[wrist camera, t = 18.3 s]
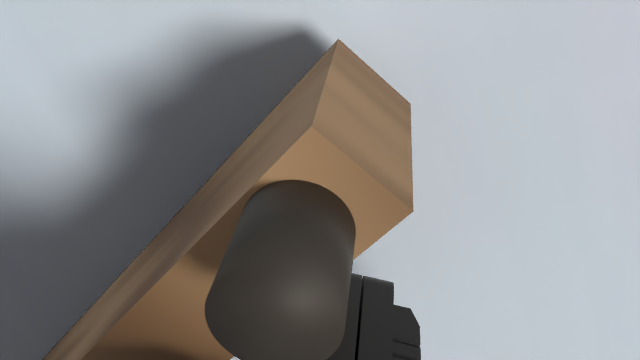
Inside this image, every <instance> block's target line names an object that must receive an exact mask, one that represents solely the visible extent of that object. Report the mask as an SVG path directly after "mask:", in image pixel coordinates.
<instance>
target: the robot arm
mask: <svg viewBox="0 0 640 360" xmlns="http://www.w3.org/2000/svg"><path fill="white" fill-rule="evenodd" d="M393 301H394V284H393V282H389V281H384V280H380V279H376V278H371V277H367V276H363V278H362V275H358V274H353V273H351V281H350V289H349V298H348V306H347V315H346V323H345V331H344V336H343V339H342V342H341V344H340V346H339V347H338V349H337V350H336V351H335V352H334V353H333V355H331V356H330V357H329V358H328V359H326V360H421V351H420V326H419V324H418V322H417V320H416V318H415V316H414V314H413V312H412V311H411V309H410V308H405V307H401V306H397V305H393Z"/></svg>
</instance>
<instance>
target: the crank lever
mask: <svg viewBox="0 0 640 360" xmlns="http://www.w3.org/2000/svg"><path fill="white" fill-rule="evenodd" d="M412 212H413V182H412V145H411V108H410V103H409V102H408V101H407V100H406V99H405V98H403V97H402V96H401V95H400V94H399V93H398V92H397V91H396V90H395V89H394V88H392V87H391V86H390V85H389V84H388V83H387V82H386V81H385V80H384V79H382V78H381V77H380V76H379V75H378V74H377V73H376V72H375V71H374V70H372V69H371V68H370V67H369V66H368V65H367V64H366V63H365V62H364V61H363V60H361V59H360V58H359V57H358V56H357V55H356V54H355V53H354V52H353V51H351V50H350V49H349V48H348V47H347V46H346V45H345V44H344V43H343V42H341V41H340V40H339V39H338V40H337V41H336V42H335V43H334V44H333V45H332V47H331V48H330V49H329V50H328V51H327V52H326V53H325V54H324V55H323V56H322V57H321V58H320V60H319V61H318V62H317V63H316V64H315V65H314V66H313V67H312V68H311V69H310V70H309V71H308V73H307V74H306V75H305V76H304V77H303V78H302V79H301V80H300V81H299V82H298V83H297V84H296V86H295V87H294V88H293V89H292V90H291V91H290V92H289V93H288V94H287V95H286V96H285V97H284V98H283V100H282V101H281V102H280V103H279V104H278V105H277V106H276V107H275V108H274V109H273V110H272V111H271V113H270V114H269V115H268V116H267V117H266V118H265V119H264V120H263V121H262V122H261V123H260V124H259V126H258V127H257V128H256V129H255V130H254V131H253V132H252V133H251V134H250V135H249V136H248V137H247V139H246V140H245V141H244V142H243V143H242V144H241V145H240V146H239V147H238V148H237V149H236V150H235V152H234V153H233V154H232V155H231V156H230V157H229V158H228V159H227V160H226V161H225V162H224V163H223V164H222V166H221V167H220V168H219V169H218V170H217V171H216V172H215V173H214V174H213V175H212V176H211V177H210V179H209V180H208V181H207V182H206V183H205V184H204V185H203V186H202V187H201V188H200V189H199V190H198V192H197V193H196V194H195V195H194V196H193V197H192V198H191V199H190V200H189V201H188V202H187V203H186V205H185V206H184V207H183V208H182V209H181V210H180V211H179V212H178V213H177V214H176V215H175V216H174V218H173V219H172V220H171V221H170V222H169V223H168V224H167V225H166V226H165V227H164V228H163V229H162V231H161V232H160V233H159V234H158V235H157V236H156V237H155V238H154V239H153V240H152V241H151V242H150V243H149V245H148V246H147V247H146V248H145V249H144V250H143V251H142V252H141V253H140V254H139V255H138V256H137V258H136V259H135V260H134V261H133V262H132V263H131V264H130V265H129V266H128V267H127V268H126V269H125V271H124V272H123V273H122V274H121V275H120V276H119V277H118V278H117V279H116V280H115V281H114V282H113V284H112V285H111V286H110V287H109V288H108V289H107V290H106V291H105V292H104V293H103V294H102V295H101V297H100V298H99V299H98V300H97V301H96V302H95V303H94V304H93V305H92V306H91V307H90V308H89V310H88V311H87V312H86V313H85V314H84V315H83V316H82V317H81V318H80V319H79V320H78V321H77V322H76V324H75V325H74V326H73V327H72V328H71V329H70V330H69V331H68V332H67V333H66V334H65V335H64V337H63V338H62V339H61V340H60V341H59V342H58V343H57V344H56V345H55V346H54V347H53V348H52V350H51V351H50V352H49V353H48V354H47V355H46V356H45V357H44V358H43V359H42V360H230V359H231V358H232V357H233V356H235V357H237V358H239V359H240V360H326V359H328V358H329V357H330V356H331V355H333V353H334V352H335V351H336V350H337V349H338V347H339V346H340V344H341V342H342V339H343V336H344V331H345V323H346V315H347V306H348V298H349V289H350V281H351V272H352V263H353V260H354V259H355V258H356V257H357V256H359V255H360V254H361V253H362V252H363V251H365V250H366V249H367V248H368V247H370V246H371V245H372V244H373V243H375V242H376V241H377V240H378V239H380V238H381V237H382V236H383V235H385V234H386V233H387V232H388V231H389V230H391V229H392V228H393V227H394V226H396V225H397V224H398V223H399V222H401V221H402V220H403V219H404V218H406V217H407V216H408V215H409V214H411V213H412Z"/></svg>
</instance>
